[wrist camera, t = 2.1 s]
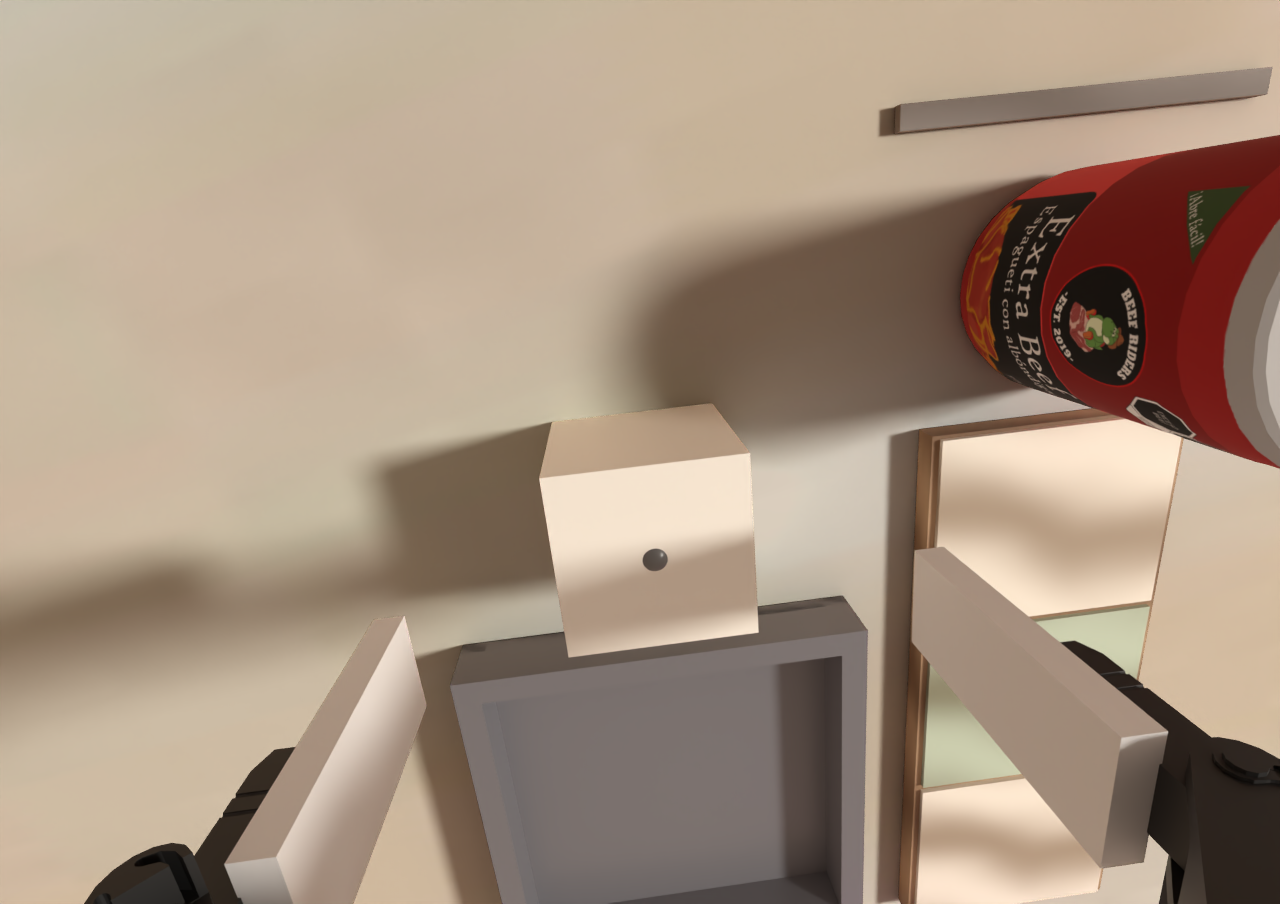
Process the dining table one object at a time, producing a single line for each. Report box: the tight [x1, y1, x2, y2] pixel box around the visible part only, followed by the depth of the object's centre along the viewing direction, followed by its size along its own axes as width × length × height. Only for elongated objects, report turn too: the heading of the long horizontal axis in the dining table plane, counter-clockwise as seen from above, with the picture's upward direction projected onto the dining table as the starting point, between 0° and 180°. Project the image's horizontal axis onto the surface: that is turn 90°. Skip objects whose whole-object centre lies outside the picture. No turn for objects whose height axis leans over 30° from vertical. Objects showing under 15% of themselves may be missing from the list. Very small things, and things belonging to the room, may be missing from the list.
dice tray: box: [450, 596, 868, 904], centre depth 27 cm, size 16×16×2 cm
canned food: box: [960, 135, 1280, 469], centre depth 18 cm, size 8×8×11 cm
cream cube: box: [539, 403, 759, 657], centre depth 21 cm, size 6×6×6 cm
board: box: [894, 67, 1272, 904], centre depth 26 cm, size 37×13×1 cm, turn 6°
